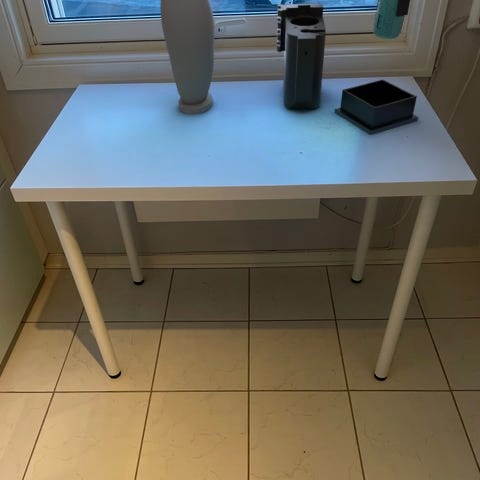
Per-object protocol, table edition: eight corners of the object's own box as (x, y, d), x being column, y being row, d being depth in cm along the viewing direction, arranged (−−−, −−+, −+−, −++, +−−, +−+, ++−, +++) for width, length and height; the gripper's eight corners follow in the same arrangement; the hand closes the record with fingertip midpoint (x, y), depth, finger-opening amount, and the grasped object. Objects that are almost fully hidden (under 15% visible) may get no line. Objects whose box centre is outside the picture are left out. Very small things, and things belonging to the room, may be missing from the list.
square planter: (417, 120, 132) (422, 97, 128) (370, 135, 127) (374, 110, 123) (379, 100, 141) (383, 77, 137) (334, 112, 137) (336, 89, 132)
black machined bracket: (316, 83, 150) (323, -4, 135) (321, 114, 136) (328, 21, 120) (275, 84, 151) (277, -3, 135) (275, 115, 136) (277, 22, 121)
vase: (215, 116, 137) (205, -44, 112) (166, 115, 138) (146, -43, 113) (221, 95, 146) (213, -56, 121) (175, 95, 147) (158, -55, 122)
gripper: (367, -126, 105) (352, 4, 122) (433, -117, 93) (407, 25, 110) (396, -129, 108) (378, -1, 124) (464, -120, 96) (434, 19, 112)
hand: (391, 11), depth 117 cm, fingers closed on beverage bottle, 6 cm apart
